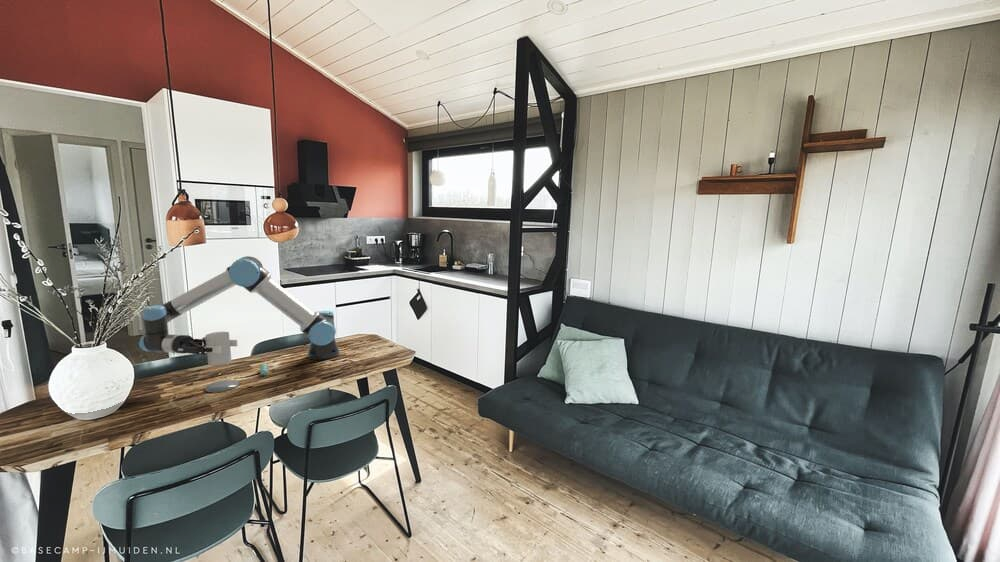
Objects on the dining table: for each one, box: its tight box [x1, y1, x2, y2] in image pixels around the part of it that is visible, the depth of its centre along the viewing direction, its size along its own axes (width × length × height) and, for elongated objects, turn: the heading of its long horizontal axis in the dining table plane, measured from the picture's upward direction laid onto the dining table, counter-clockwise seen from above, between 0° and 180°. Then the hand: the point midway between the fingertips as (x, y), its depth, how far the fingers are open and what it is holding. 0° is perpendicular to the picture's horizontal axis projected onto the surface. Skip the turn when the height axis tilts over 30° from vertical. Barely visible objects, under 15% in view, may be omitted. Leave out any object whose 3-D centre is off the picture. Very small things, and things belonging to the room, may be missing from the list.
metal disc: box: [204, 379, 240, 394], centre depth 177 cm, size 12×12×1 cm
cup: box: [204, 331, 232, 366], centre depth 174 cm, size 8×8×12 cm
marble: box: [260, 369, 269, 376], centre depth 190 cm, size 3×3×3 cm
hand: (228, 346), depth 174 cm, fingers closed on cup, 8 cm apart
